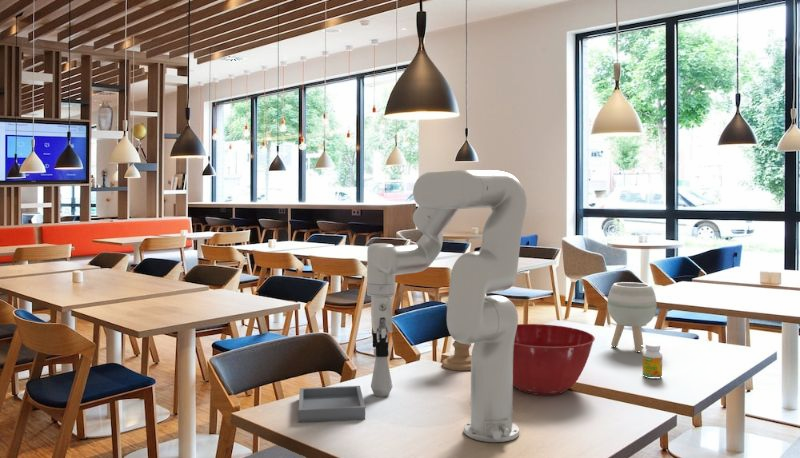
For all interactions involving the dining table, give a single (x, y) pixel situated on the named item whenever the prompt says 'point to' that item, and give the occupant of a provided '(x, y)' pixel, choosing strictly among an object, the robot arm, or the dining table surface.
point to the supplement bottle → (652, 361)
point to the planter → (631, 309)
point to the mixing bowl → (549, 357)
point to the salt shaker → (381, 377)
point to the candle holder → (458, 357)
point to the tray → (331, 404)
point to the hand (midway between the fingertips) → (380, 351)
